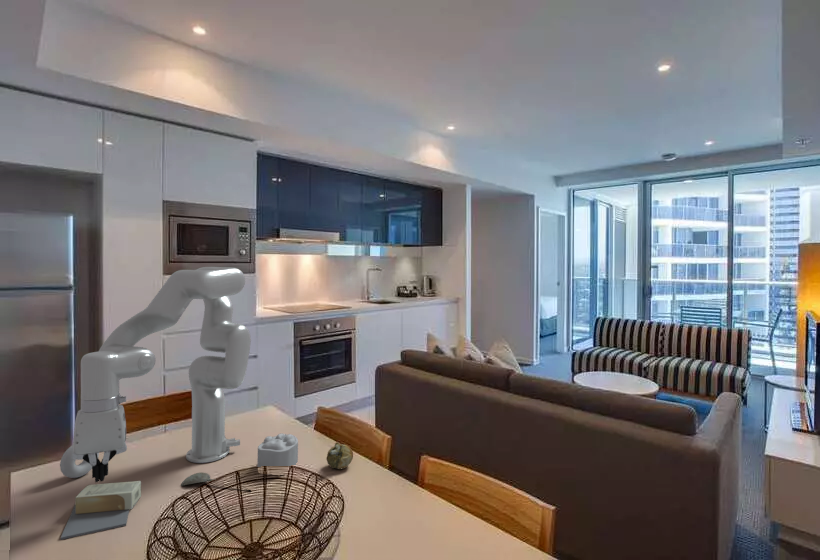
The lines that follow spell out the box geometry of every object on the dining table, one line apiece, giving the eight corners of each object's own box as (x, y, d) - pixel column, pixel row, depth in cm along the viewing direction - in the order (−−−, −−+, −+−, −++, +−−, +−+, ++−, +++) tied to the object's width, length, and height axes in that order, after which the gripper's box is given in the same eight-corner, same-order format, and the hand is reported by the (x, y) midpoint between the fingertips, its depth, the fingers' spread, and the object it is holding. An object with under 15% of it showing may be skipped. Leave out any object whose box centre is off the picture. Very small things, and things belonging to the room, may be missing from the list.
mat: (132, 493, 114) (132, 491, 114) (126, 525, 100) (126, 523, 100) (76, 503, 108) (76, 502, 108) (60, 539, 94) (60, 537, 94)
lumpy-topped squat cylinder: (252, 473, 127) (252, 444, 126) (274, 454, 139) (275, 428, 139) (285, 477, 125) (285, 447, 124) (304, 458, 137) (305, 431, 137)
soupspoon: (193, 478, 125) (175, 490, 119) (192, 467, 125) (174, 479, 118) (260, 486, 120) (245, 499, 113) (259, 474, 119) (245, 487, 113)
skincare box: (141, 496, 112) (88, 500, 109) (141, 480, 111) (88, 483, 109) (131, 510, 105) (74, 515, 103) (131, 492, 105) (74, 497, 103)
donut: (65, 485, 117) (65, 449, 117) (56, 483, 118) (56, 447, 118) (102, 469, 127) (102, 435, 126) (93, 467, 128) (93, 434, 128)
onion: (355, 470, 129) (355, 444, 129) (328, 474, 127) (329, 447, 126) (350, 460, 136) (350, 435, 136) (324, 463, 134) (325, 437, 134)
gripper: (138, 395, 110) (138, 466, 111) (64, 403, 103) (64, 479, 104) (135, 404, 104) (135, 479, 104) (57, 412, 97) (57, 493, 97)
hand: (100, 479), depth 104 cm, fingers closed
